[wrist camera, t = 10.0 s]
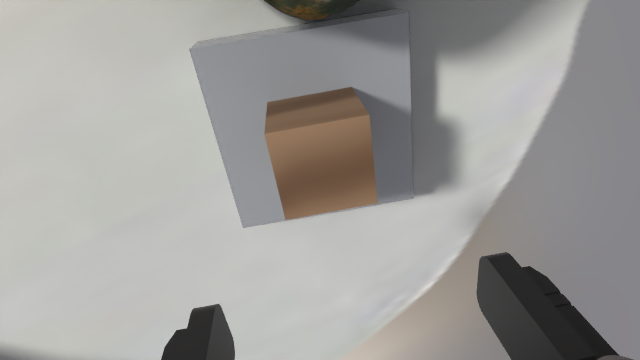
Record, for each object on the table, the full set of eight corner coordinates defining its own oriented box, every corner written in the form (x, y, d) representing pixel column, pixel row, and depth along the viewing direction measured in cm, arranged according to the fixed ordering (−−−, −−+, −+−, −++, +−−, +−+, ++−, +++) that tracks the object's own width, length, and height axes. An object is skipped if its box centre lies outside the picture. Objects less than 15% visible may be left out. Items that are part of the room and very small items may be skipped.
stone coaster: (245, 208, 28) (243, 227, 26) (198, 41, 22) (189, 49, 20) (403, 181, 28) (413, 198, 26) (396, 8, 22) (408, 12, 20)
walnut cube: (267, 102, 22) (264, 133, 18) (351, 86, 22) (369, 114, 18) (284, 176, 24) (285, 220, 20) (360, 162, 24) (377, 203, 20)
